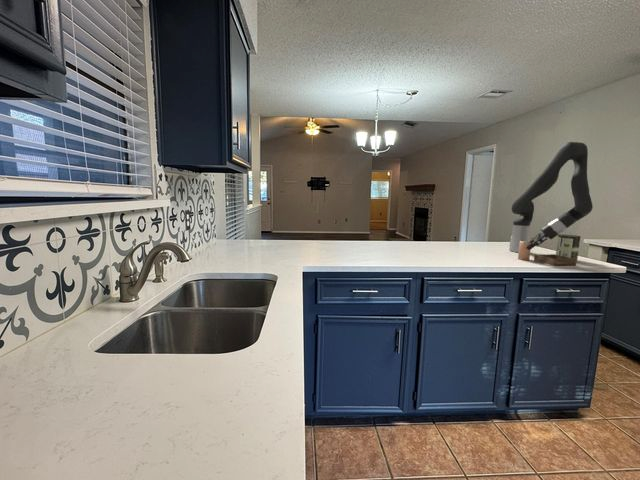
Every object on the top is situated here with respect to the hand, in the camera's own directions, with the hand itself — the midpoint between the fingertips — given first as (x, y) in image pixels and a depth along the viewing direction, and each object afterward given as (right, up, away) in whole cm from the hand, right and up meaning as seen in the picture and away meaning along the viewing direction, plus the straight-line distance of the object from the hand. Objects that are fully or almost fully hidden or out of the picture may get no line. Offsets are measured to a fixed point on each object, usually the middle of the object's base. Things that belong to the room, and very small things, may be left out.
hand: (526, 247), depth 180 cm
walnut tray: (+10, -8, -7) cm, 15 cm away
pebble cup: (-1, -7, +1) cm, 7 cm away
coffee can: (+24, -7, +3) cm, 26 cm away
